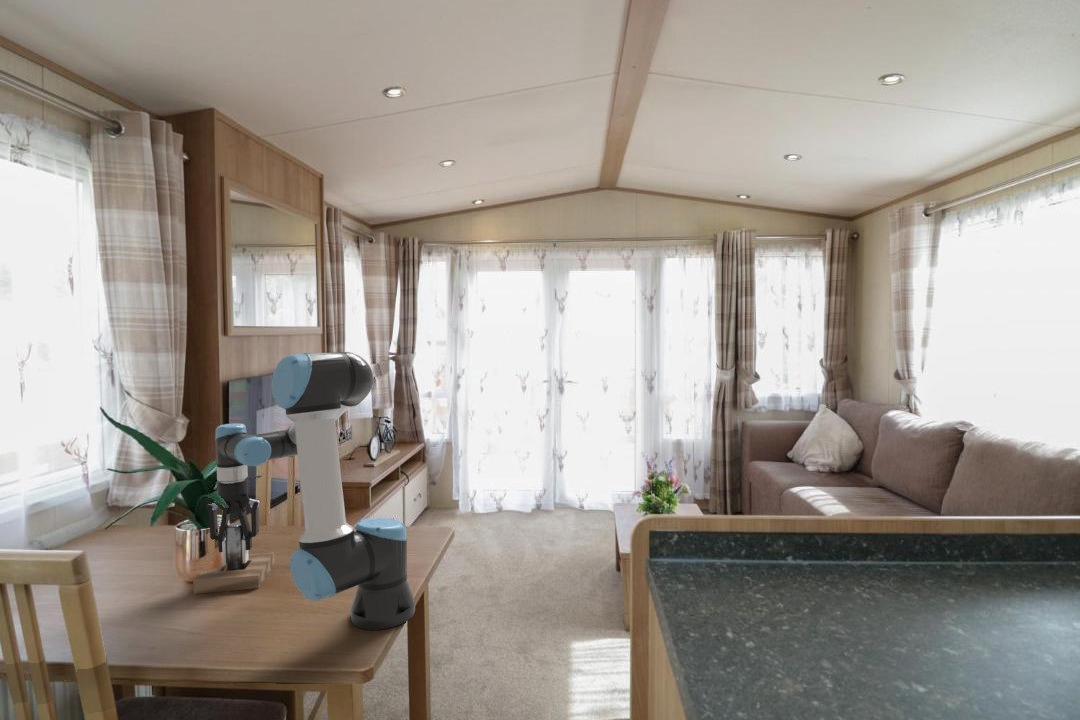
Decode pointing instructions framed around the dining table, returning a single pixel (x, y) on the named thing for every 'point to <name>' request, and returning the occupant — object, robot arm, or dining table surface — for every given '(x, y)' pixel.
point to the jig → (235, 575)
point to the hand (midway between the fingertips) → (235, 561)
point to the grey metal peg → (234, 547)
